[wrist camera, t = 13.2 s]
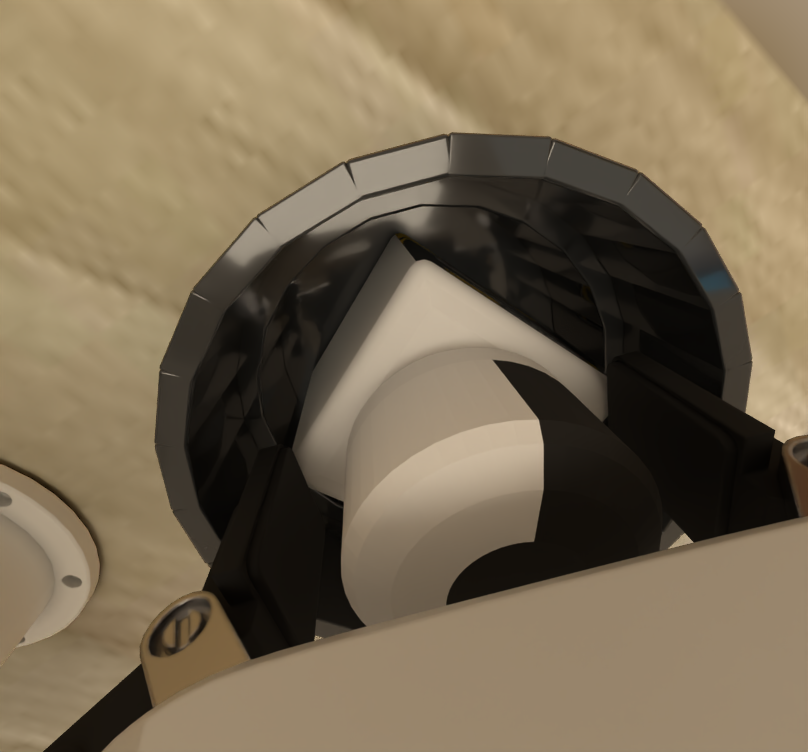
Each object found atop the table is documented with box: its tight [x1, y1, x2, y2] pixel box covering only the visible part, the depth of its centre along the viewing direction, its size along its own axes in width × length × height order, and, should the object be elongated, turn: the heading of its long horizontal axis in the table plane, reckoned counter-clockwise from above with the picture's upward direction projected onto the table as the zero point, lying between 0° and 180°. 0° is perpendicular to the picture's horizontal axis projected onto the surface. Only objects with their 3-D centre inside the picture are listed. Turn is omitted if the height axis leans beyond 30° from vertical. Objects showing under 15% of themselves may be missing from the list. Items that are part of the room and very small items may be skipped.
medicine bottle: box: [292, 233, 663, 626], centre depth 12 cm, size 7×7×12 cm
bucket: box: [155, 132, 753, 638], centre depth 14 cm, size 14×14×9 cm
